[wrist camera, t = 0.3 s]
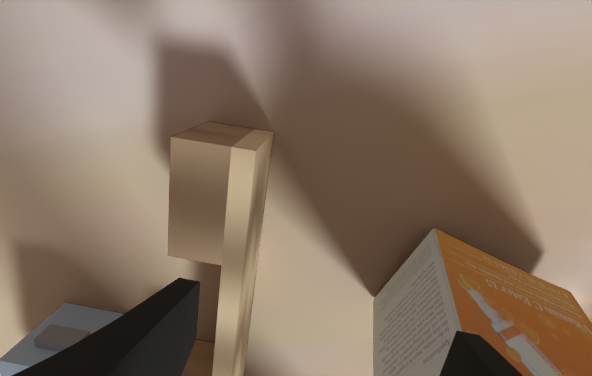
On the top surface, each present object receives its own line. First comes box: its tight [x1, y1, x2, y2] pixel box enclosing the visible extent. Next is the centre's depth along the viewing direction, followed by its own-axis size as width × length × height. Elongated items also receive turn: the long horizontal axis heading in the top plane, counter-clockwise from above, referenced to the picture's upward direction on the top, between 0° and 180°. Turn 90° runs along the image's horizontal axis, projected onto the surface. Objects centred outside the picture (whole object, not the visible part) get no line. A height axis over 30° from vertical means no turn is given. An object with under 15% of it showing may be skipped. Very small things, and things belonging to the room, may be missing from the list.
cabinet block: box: [0, 303, 124, 376], centre depth 22 cm, size 8×4×5 cm, turn 172°
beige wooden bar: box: [168, 122, 274, 376], centre depth 20 cm, size 22×4×4 cm, turn 172°
